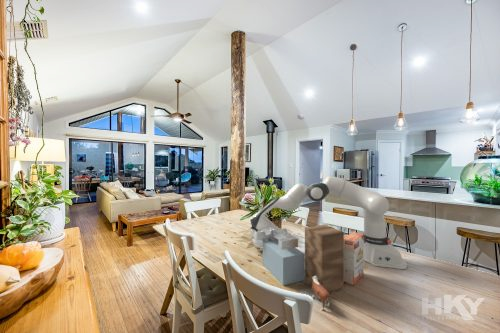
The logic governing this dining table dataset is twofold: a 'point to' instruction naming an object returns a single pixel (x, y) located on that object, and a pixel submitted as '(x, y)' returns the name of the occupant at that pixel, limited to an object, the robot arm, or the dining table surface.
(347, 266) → the cracker box
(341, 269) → the stand
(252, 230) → the spread jar
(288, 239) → the light gray box
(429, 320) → the dining table surface
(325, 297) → the bull figurine
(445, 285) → the dining table surface
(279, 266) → the gray rectangular box
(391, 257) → the robot arm
